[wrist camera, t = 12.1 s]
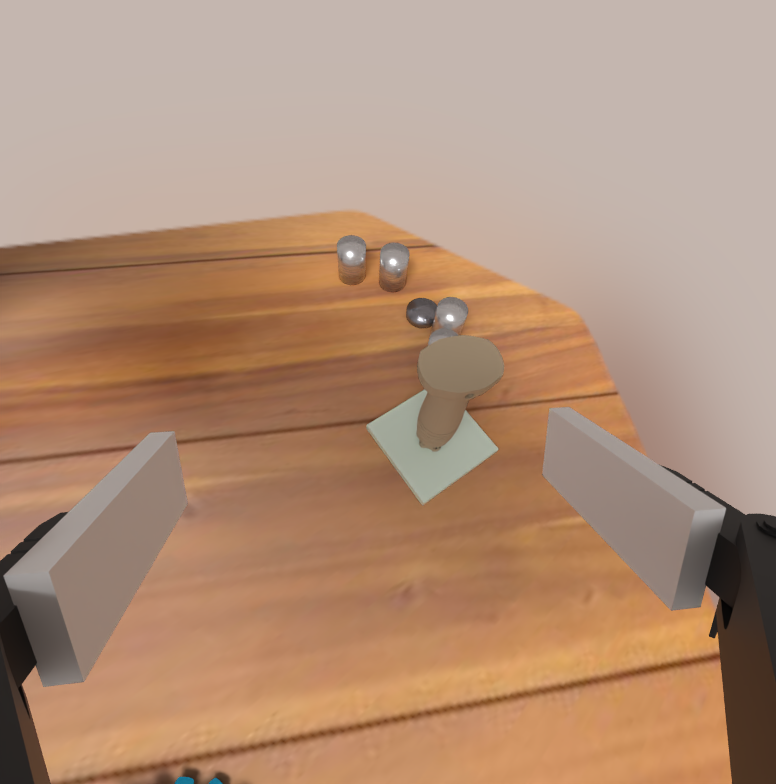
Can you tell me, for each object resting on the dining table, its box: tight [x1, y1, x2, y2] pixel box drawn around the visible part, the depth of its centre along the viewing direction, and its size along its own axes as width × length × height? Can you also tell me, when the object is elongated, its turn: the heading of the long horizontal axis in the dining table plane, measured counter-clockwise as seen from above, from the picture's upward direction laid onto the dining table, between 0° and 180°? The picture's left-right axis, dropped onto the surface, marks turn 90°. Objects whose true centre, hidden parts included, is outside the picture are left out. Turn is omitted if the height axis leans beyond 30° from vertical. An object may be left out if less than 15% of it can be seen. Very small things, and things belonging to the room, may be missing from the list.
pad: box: [366, 389, 498, 506], centre depth 45 cm, size 10×10×1 cm
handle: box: [416, 335, 504, 452], centre depth 38 cm, size 5×6×15 cm
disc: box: [406, 298, 437, 328], centre depth 53 cm, size 4×4×1 cm
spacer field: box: [337, 235, 468, 346], centre depth 52 cm, size 21×8×5 cm, turn 35°
